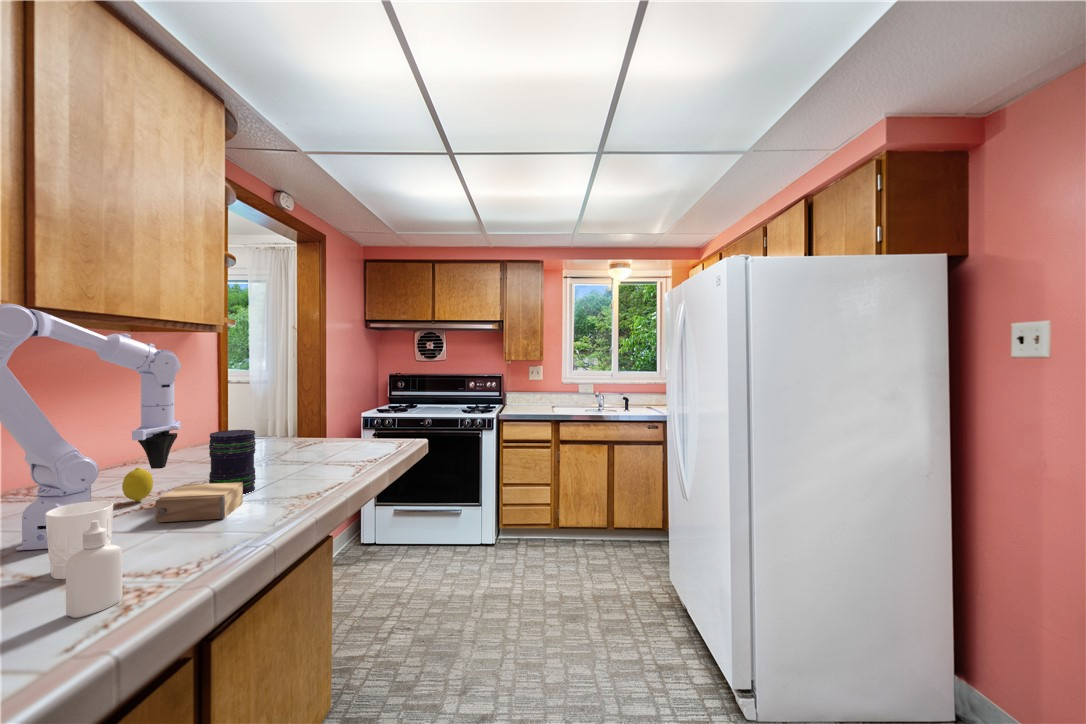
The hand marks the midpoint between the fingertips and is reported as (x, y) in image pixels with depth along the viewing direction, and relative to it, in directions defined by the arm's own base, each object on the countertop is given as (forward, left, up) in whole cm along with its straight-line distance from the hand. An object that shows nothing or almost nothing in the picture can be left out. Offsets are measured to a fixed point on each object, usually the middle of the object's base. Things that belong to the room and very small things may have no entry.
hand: (158, 467), depth 105 cm
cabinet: (-1, -9, -10) cm, 13 cm away
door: (-7, -9, -10) cm, 15 cm away
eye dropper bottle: (-43, -13, -10) cm, 46 cm away
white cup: (-29, -3, -10) cm, 31 cm away
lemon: (+10, +9, -10) cm, 17 cm away
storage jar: (+15, -9, -10) cm, 20 cm away
